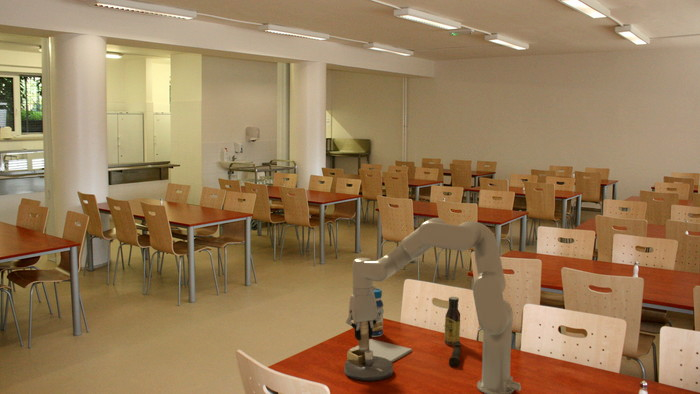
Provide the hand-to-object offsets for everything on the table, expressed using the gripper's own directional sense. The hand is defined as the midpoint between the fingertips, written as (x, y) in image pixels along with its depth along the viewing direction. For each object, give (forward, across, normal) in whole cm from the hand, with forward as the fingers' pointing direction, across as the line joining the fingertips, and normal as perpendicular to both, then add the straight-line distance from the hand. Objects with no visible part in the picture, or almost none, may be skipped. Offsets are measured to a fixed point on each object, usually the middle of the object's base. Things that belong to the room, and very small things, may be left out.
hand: (363, 338), depth 234 cm
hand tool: (+12, -37, +6) cm, 39 cm away
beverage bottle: (+11, -20, -32) cm, 39 cm away
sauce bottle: (+12, -45, -8) cm, 47 cm away
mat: (+11, -13, -12) cm, 21 cm away
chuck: (+11, 0, +5) cm, 12 cm away
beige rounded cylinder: (+5, 0, 0) cm, 5 cm away
